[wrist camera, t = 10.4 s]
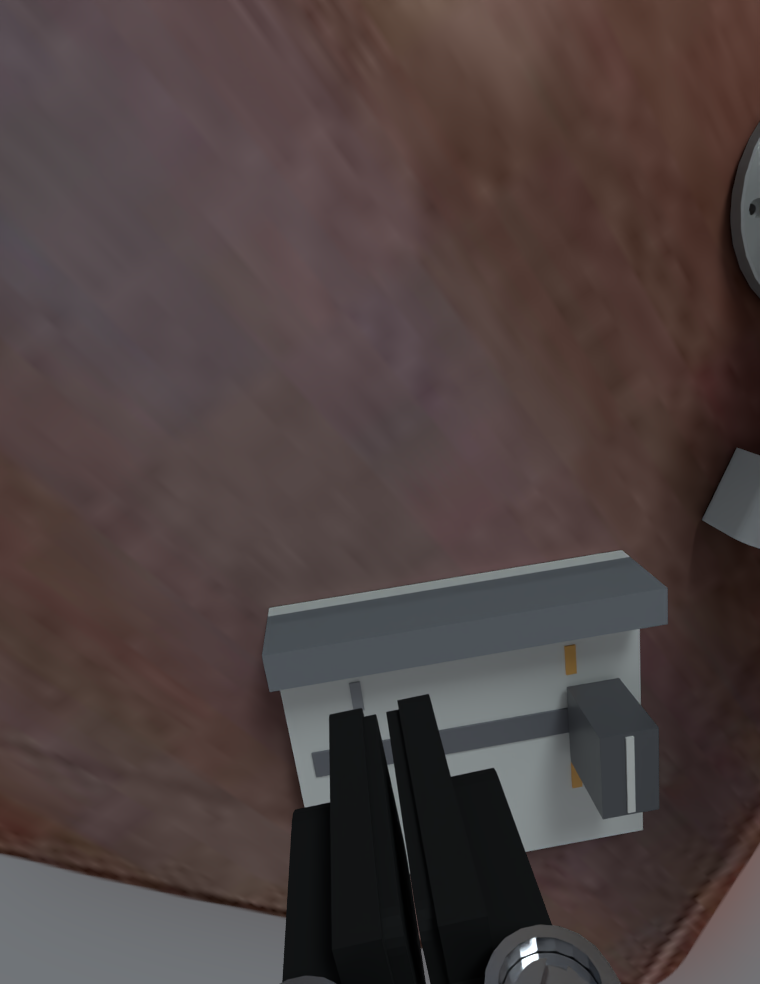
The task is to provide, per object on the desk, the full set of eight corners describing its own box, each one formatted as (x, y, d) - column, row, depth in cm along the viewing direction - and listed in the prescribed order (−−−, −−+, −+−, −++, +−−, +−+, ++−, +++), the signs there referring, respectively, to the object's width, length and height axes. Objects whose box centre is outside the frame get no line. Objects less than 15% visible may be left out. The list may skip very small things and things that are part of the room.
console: (621, 550, 37) (667, 587, 32) (627, 805, 42) (667, 870, 37) (269, 607, 36) (261, 655, 31) (321, 862, 41) (322, 936, 36)
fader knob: (619, 677, 36) (659, 729, 32) (621, 751, 38) (660, 810, 33) (566, 686, 36) (600, 739, 32) (570, 761, 37) (603, 820, 33)
